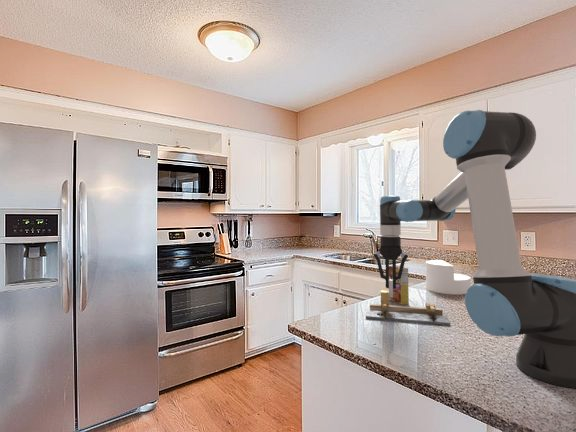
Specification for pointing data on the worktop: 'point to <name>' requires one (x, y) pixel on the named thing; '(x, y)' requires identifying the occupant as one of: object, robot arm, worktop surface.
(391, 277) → the candy box
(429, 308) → the beam
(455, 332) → the worktop surface
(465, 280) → the container
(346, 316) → the worktop surface
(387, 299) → the jaw
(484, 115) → the robot arm
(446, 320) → the plate
